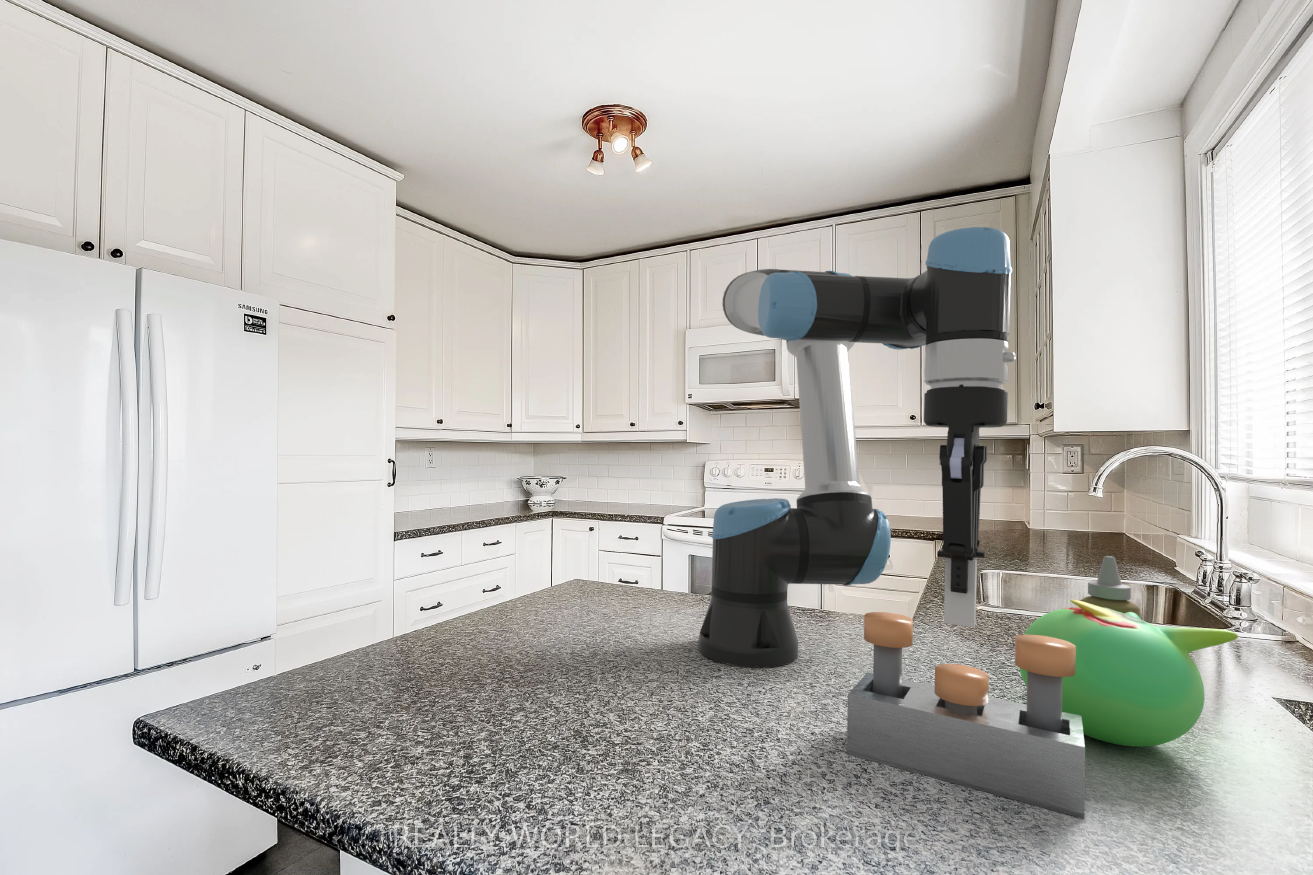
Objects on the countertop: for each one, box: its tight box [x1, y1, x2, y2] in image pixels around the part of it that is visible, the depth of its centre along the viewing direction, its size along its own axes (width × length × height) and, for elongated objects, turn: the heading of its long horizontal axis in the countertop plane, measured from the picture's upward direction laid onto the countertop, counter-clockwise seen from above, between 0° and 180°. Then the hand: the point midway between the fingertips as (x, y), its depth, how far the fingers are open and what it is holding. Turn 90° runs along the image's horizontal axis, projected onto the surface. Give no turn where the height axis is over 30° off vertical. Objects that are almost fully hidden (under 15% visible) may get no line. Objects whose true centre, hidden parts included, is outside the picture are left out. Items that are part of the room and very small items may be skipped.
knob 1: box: [863, 611, 914, 699], centre depth 66 cm, size 5×5×8 cm
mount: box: [846, 672, 1086, 820], centre depth 62 cm, size 20×8×6 cm, turn 58°
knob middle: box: [934, 663, 990, 715], centre depth 62 cm, size 5×5×8 cm
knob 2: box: [1014, 634, 1076, 734], centre depth 58 cm, size 5×5×8 cm
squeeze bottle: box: [1079, 555, 1142, 620], centre depth 83 cm, size 8×8×18 cm
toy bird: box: [1019, 598, 1239, 747], centre depth 70 cm, size 18×17×15 cm
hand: (959, 623), depth 63 cm, fingers closed
